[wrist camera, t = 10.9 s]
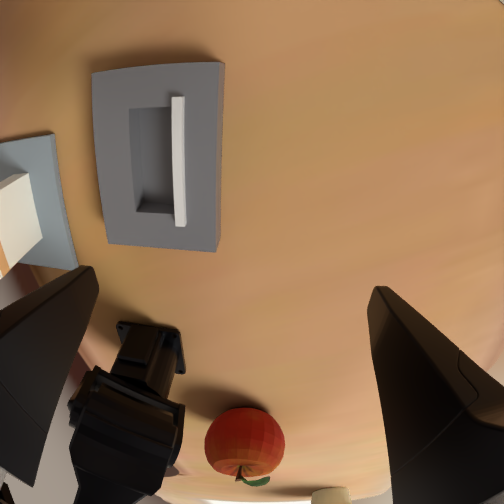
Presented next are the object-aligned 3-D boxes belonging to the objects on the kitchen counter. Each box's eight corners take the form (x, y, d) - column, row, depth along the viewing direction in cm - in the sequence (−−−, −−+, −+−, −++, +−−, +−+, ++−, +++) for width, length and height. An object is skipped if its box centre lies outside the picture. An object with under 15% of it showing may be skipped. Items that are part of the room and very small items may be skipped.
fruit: (194, 403, 35) (179, 474, 26) (265, 389, 32) (260, 472, 23) (233, 434, 39) (225, 496, 30) (296, 424, 36) (296, 492, 28)
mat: (79, 267, 25) (76, 271, 24) (20, 259, 25) (17, 262, 25) (54, 133, 19) (49, 135, 18) (-7, 144, 19) (-11, 146, 18)
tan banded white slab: (42, 238, 23) (-1, 280, 17) (28, 236, 23) (-15, 277, 17) (28, 172, 20) (-26, 206, 14) (13, 174, 20) (-39, 206, 14)
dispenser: (220, 237, 22) (214, 256, 20) (119, 230, 23) (105, 247, 20) (225, 63, 16) (218, 61, 14) (106, 72, 16) (87, 73, 14)
